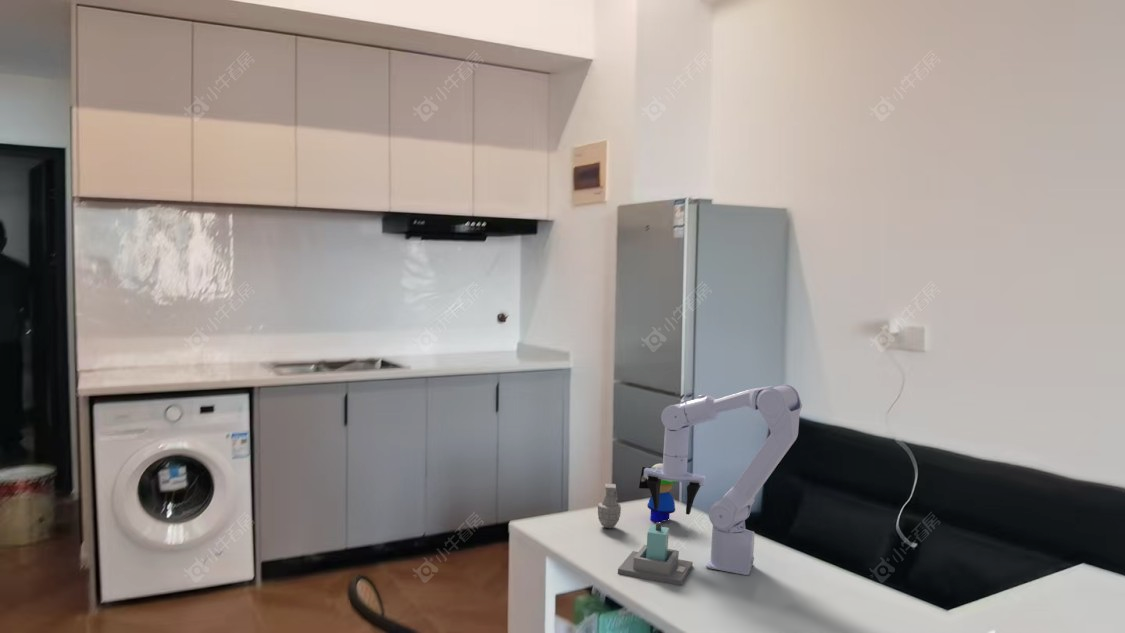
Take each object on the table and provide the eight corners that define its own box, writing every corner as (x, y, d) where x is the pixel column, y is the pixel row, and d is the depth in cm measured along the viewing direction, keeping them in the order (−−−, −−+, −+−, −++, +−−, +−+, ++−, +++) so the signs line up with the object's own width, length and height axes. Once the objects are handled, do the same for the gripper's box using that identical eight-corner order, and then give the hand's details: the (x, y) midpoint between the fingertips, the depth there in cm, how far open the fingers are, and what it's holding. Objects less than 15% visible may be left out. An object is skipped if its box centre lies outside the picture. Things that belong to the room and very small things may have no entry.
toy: (657, 511, 214) (660, 458, 213) (682, 520, 207) (685, 465, 206) (634, 517, 208) (637, 462, 207) (659, 526, 201) (663, 470, 200)
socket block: (692, 566, 175) (693, 551, 175) (681, 585, 164) (682, 569, 164) (632, 555, 180) (633, 540, 180) (617, 573, 169) (618, 557, 169)
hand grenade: (620, 532, 196) (622, 489, 195) (597, 530, 196) (599, 488, 195) (618, 523, 202) (621, 482, 201) (596, 522, 202) (598, 480, 201)
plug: (666, 562, 174) (669, 521, 173) (663, 570, 169) (666, 528, 168) (649, 559, 175) (651, 518, 174) (645, 567, 170) (648, 525, 169)
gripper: (709, 455, 185) (705, 510, 186) (650, 447, 190) (646, 501, 191) (703, 461, 178) (700, 519, 179) (642, 453, 183) (639, 509, 184)
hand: (672, 510), depth 184 cm, fingers open, 7 cm apart
